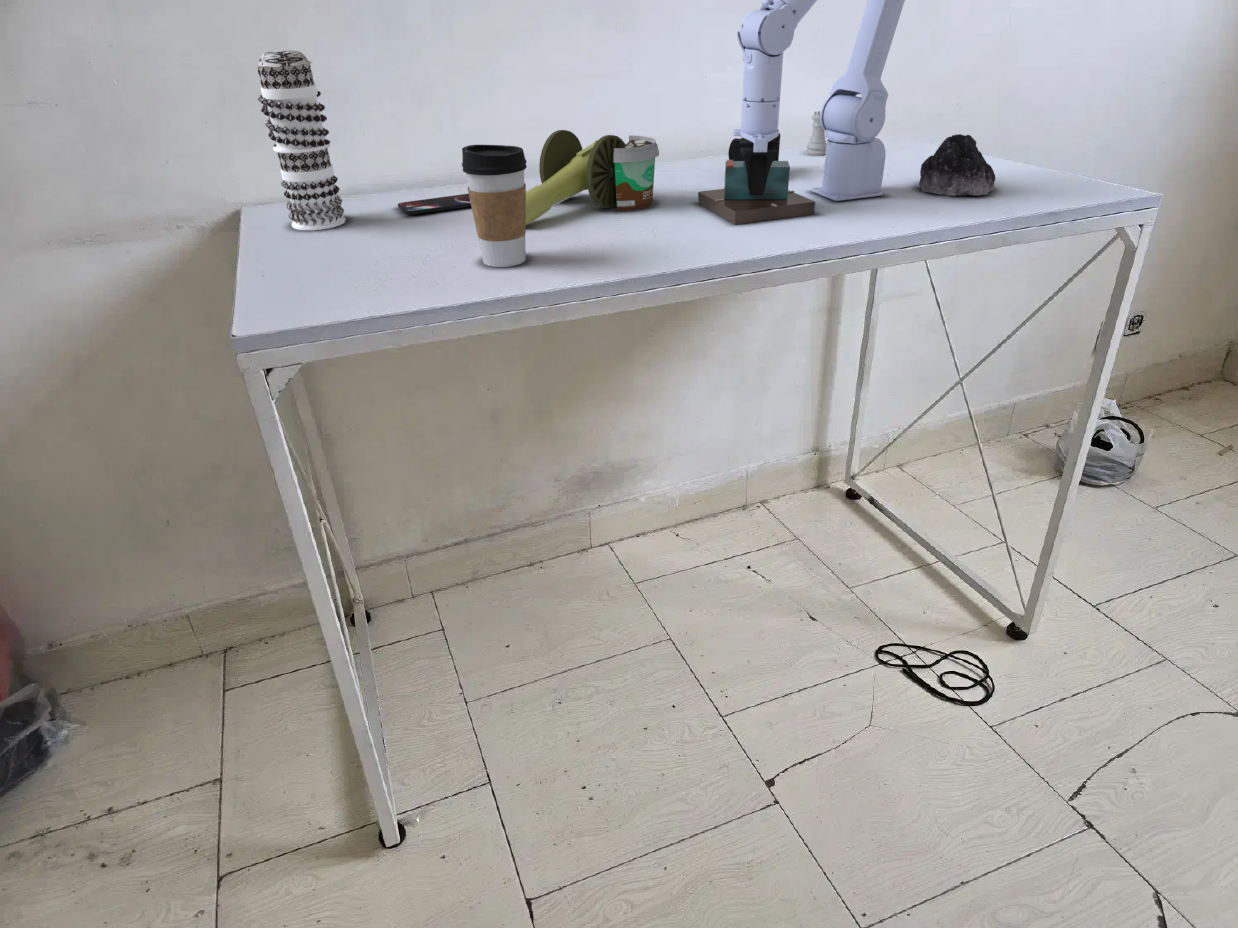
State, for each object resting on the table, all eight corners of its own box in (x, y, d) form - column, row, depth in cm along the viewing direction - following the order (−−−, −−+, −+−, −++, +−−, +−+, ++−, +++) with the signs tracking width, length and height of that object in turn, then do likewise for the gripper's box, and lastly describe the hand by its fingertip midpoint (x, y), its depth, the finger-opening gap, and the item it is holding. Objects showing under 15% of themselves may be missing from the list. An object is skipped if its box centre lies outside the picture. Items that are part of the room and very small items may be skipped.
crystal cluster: (962, 181, 147) (966, 123, 142) (1016, 191, 135) (1023, 127, 130) (898, 195, 144) (900, 136, 139) (948, 206, 132) (952, 142, 128)
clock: (772, 194, 140) (773, 182, 138) (815, 214, 128) (816, 200, 127) (697, 203, 136) (697, 190, 135) (734, 224, 124) (735, 210, 123)
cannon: (542, 234, 122) (536, 156, 116) (486, 223, 128) (478, 149, 122) (637, 199, 139) (636, 129, 133) (584, 191, 145) (581, 124, 139)
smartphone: (493, 200, 138) (406, 212, 133) (493, 204, 139) (407, 216, 133) (479, 191, 144) (396, 203, 138) (479, 195, 144) (396, 206, 139)
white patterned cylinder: (287, 220, 134) (246, 52, 120) (344, 213, 137) (310, 48, 123) (291, 234, 126) (248, 57, 113) (351, 226, 129) (316, 52, 116)
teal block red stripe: (785, 192, 132) (788, 159, 129) (787, 199, 128) (790, 165, 126) (724, 192, 133) (725, 159, 130) (724, 199, 129) (725, 165, 127)
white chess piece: (805, 155, 166) (809, 114, 162) (805, 151, 170) (808, 110, 166) (827, 155, 166) (832, 114, 161) (826, 151, 169) (831, 110, 165)
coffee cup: (476, 253, 115) (462, 142, 108) (534, 250, 116) (525, 139, 108) (471, 272, 108) (456, 155, 100) (534, 268, 109) (524, 152, 101)
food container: (651, 214, 131) (651, 149, 125) (615, 213, 132) (613, 149, 127) (665, 196, 141) (665, 135, 135) (630, 195, 142) (629, 134, 137)
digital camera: (752, 168, 157) (754, 130, 154) (777, 171, 155) (780, 132, 151) (726, 179, 150) (728, 139, 147) (752, 182, 148) (754, 142, 144)
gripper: (734, 93, 130) (730, 180, 137) (735, 107, 118) (731, 202, 125) (778, 92, 129) (772, 180, 136) (784, 106, 117) (777, 202, 124)
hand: (755, 190), depth 130 cm, fingers closed on teal block red stripe, 4 cm apart
